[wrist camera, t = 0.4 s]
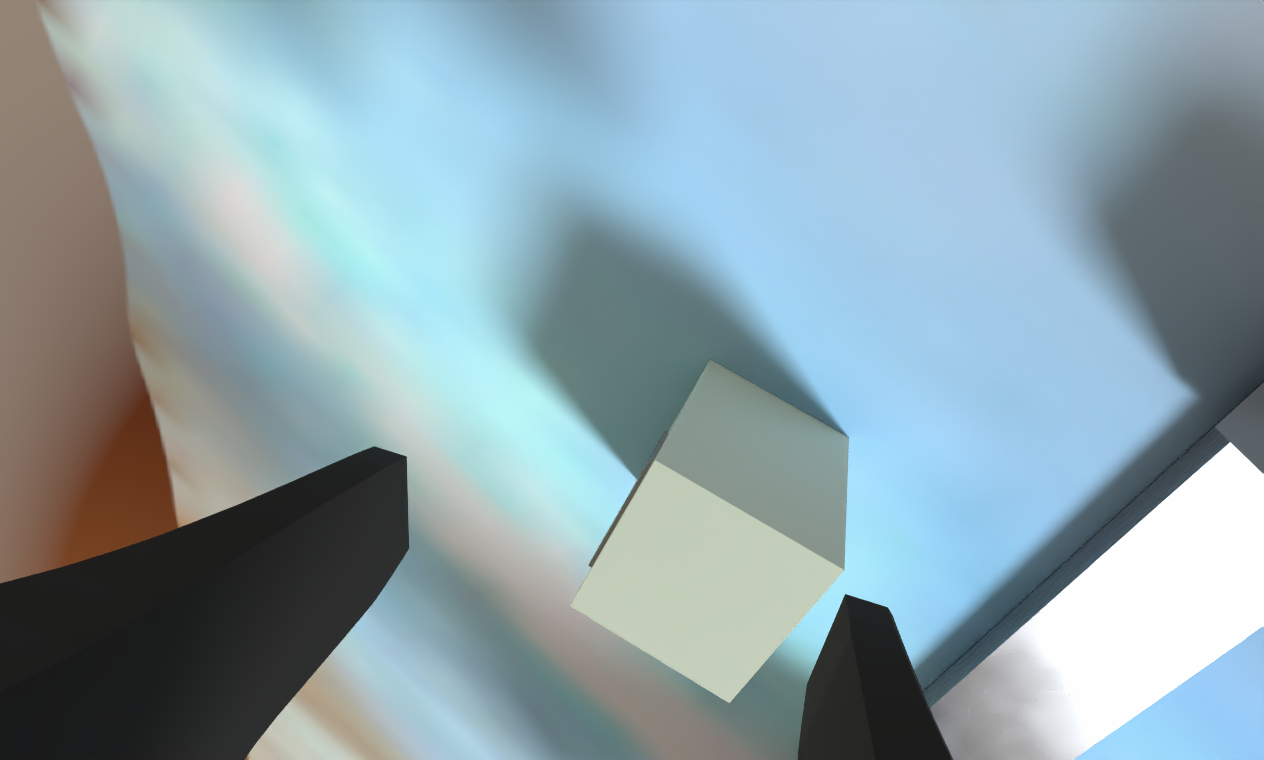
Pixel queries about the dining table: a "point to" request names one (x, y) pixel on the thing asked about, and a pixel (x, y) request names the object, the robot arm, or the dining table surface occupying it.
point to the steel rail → (1117, 618)
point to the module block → (724, 534)
